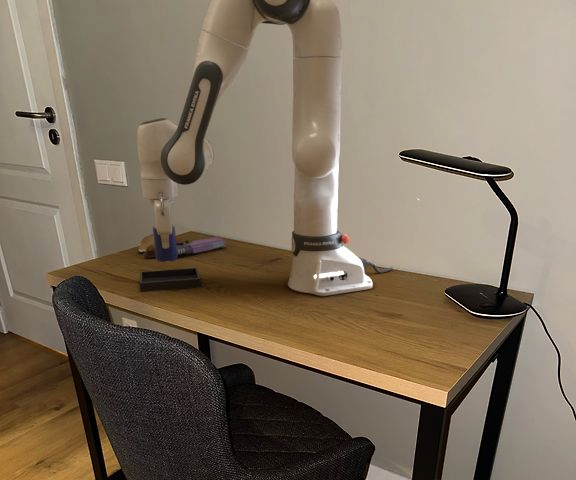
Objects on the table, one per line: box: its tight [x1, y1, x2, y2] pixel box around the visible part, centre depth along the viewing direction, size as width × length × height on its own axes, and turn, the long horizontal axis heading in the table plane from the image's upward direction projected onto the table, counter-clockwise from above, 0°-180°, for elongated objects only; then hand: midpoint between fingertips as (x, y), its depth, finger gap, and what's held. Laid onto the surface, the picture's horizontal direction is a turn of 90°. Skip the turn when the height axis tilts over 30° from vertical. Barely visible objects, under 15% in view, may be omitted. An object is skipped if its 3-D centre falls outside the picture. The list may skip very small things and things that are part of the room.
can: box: [152, 223, 178, 263], centre depth 151 cm, size 6×6×9 cm
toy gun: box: [176, 236, 226, 256], centre depth 184 cm, size 4×20×10 cm
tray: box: [139, 267, 202, 292], centre depth 155 cm, size 16×10×2 cm, turn 103°
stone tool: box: [137, 233, 156, 259], centre depth 187 cm, size 12×4×25 cm
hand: (165, 244), depth 151 cm, fingers closed on can, 5 cm apart
